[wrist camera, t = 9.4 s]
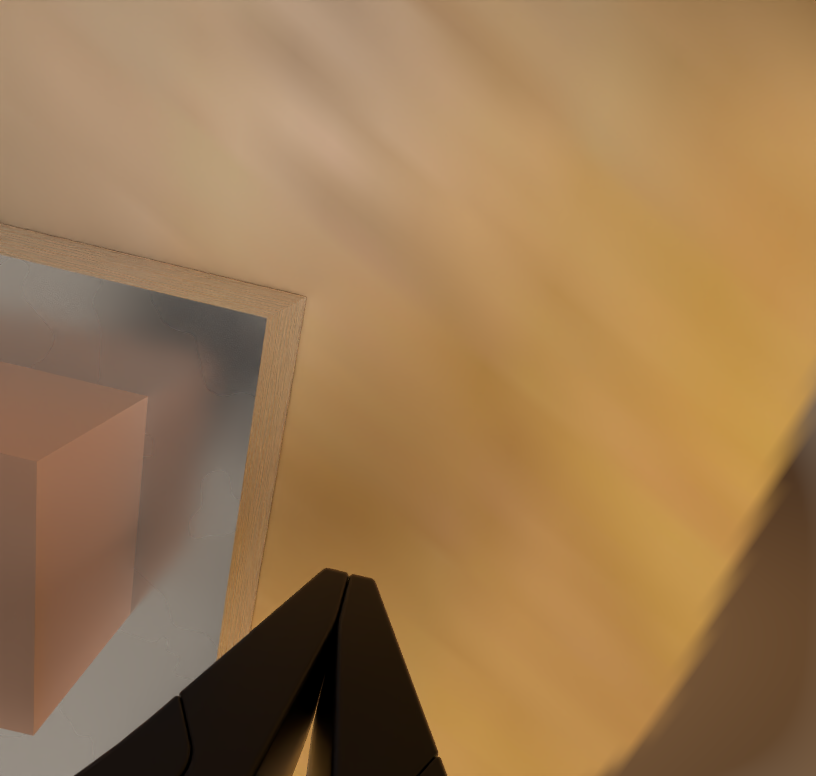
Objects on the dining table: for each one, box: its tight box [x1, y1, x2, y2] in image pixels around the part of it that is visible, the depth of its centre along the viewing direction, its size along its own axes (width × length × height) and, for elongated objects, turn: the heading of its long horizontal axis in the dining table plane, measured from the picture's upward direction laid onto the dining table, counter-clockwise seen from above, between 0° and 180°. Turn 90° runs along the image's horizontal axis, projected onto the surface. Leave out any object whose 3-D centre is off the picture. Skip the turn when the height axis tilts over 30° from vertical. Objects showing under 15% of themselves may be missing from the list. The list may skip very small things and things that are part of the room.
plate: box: [0, 223, 306, 776], centre depth 12 cm, size 18×10×2 cm, turn 167°
